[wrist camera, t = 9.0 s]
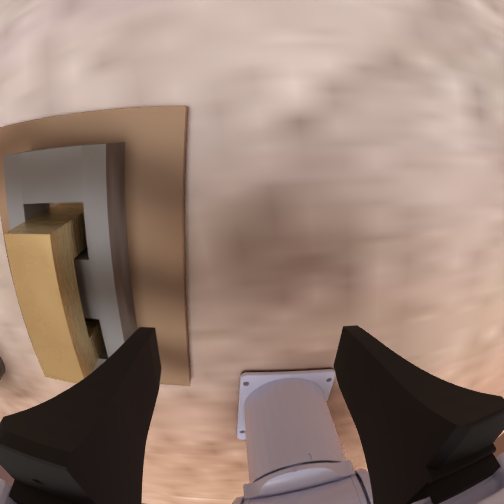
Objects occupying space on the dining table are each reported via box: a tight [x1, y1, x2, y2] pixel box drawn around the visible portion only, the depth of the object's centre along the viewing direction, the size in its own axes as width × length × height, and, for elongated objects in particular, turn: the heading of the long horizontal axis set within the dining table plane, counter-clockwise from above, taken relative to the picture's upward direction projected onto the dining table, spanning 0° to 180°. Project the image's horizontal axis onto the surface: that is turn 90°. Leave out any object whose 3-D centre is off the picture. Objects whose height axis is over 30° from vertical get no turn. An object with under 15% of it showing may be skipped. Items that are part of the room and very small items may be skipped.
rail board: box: [0, 106, 191, 386], centre depth 17 cm, size 20×14×4 cm
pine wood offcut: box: [4, 204, 105, 383], centre depth 16 cm, size 9×3×6 cm, turn 176°
